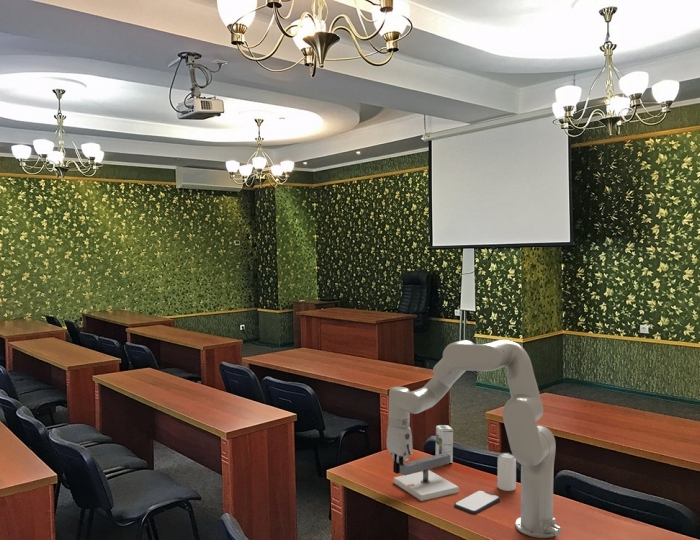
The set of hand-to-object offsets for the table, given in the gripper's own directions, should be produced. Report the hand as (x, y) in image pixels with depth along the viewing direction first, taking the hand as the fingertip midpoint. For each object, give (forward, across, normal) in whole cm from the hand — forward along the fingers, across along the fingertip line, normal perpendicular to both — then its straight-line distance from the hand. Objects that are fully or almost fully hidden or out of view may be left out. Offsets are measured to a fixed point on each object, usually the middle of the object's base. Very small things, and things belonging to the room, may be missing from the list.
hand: (398, 472), depth 204 cm
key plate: (+6, -4, -10) cm, 12 cm away
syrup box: (+7, +13, -33) cm, 36 cm away
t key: (+4, -3, -10) cm, 11 cm away
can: (+6, -20, -35) cm, 40 cm away
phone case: (+7, -23, -16) cm, 29 cm away
